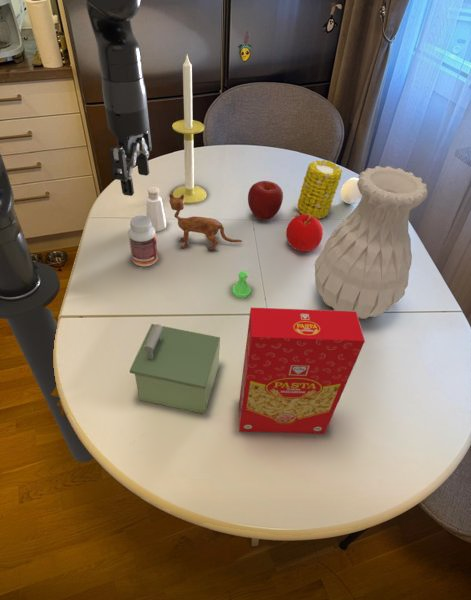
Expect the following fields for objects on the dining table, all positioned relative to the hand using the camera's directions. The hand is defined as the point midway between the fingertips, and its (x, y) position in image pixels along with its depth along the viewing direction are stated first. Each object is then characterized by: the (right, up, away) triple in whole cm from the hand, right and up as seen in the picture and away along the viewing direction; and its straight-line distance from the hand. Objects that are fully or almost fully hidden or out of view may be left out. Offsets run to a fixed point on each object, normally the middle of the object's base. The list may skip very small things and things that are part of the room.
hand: (136, 184), depth 87 cm
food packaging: (+29, -45, -13) cm, 55 cm away
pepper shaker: (-1, -4, +25) cm, 26 cm away
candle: (+7, +7, +38) cm, 39 cm away
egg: (+55, +5, +40) cm, 68 cm away
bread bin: (+10, -39, -9) cm, 42 cm away
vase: (+47, -24, +9) cm, 54 cm away
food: (+43, +2, +35) cm, 56 cm away
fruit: (+38, -10, +23) cm, 45 cm away
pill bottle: (-2, -14, +15) cm, 21 cm away
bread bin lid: (+10, -34, -15) cm, 38 cm away
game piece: (+22, -22, +9) cm, 33 cm away
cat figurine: (+13, -10, +21) cm, 27 cm away
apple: (+28, 0, +32) cm, 43 cm away
